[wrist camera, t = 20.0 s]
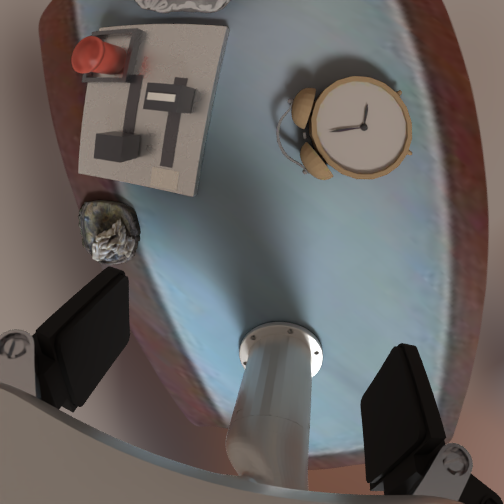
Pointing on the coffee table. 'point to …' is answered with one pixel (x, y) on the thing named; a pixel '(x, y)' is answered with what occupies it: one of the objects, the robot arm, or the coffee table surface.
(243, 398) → the robot arm
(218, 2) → the brain slice
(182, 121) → the panel
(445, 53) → the coffee table surface
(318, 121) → the alarm clock
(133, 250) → the grey rough lump
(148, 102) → the block
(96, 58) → the cap
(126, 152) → the breaker
